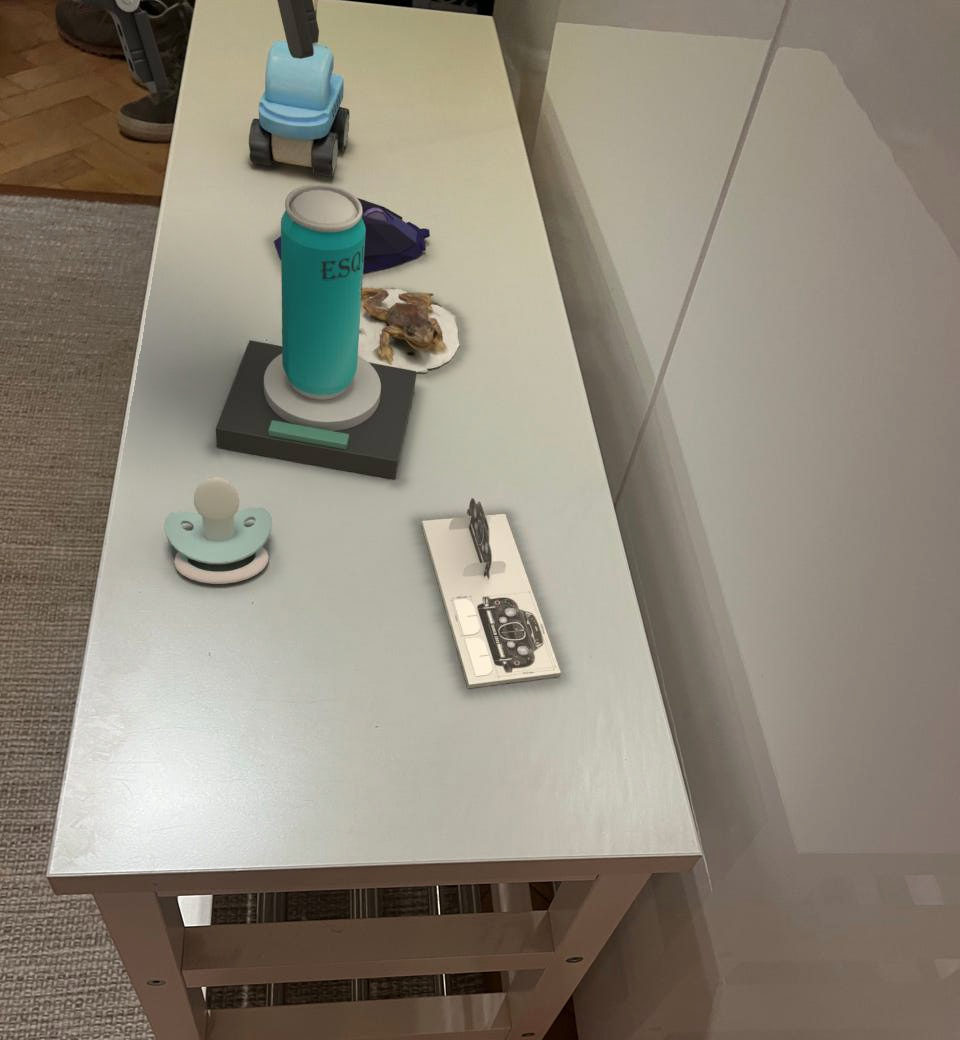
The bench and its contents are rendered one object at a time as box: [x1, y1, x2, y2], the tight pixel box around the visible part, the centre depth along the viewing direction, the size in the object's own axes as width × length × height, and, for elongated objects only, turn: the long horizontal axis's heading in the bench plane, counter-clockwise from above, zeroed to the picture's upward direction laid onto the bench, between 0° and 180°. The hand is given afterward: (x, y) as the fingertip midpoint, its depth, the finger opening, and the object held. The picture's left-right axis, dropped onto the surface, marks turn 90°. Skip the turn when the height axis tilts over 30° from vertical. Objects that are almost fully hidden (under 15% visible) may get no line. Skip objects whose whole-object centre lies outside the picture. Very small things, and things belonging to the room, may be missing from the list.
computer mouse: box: [273, 197, 431, 275], centre depth 94 cm, size 9×15×4 cm, turn 111°
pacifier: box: [163, 476, 273, 585], centre depth 68 cm, size 7×6×6 cm
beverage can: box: [280, 183, 366, 400], centre depth 73 cm, size 6×6×15 cm
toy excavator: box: [248, 0, 351, 178], centre depth 98 cm, size 9×17×17 cm, turn 174°
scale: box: [215, 339, 418, 480], centre depth 79 cm, size 14×11×3 cm
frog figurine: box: [358, 286, 461, 374], centre depth 87 cm, size 12×12×4 cm
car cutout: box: [420, 497, 562, 689], centre depth 70 cm, size 15×7×4 cm, turn 14°
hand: (233, 73), depth 55 cm, fingers open, 8 cm apart
